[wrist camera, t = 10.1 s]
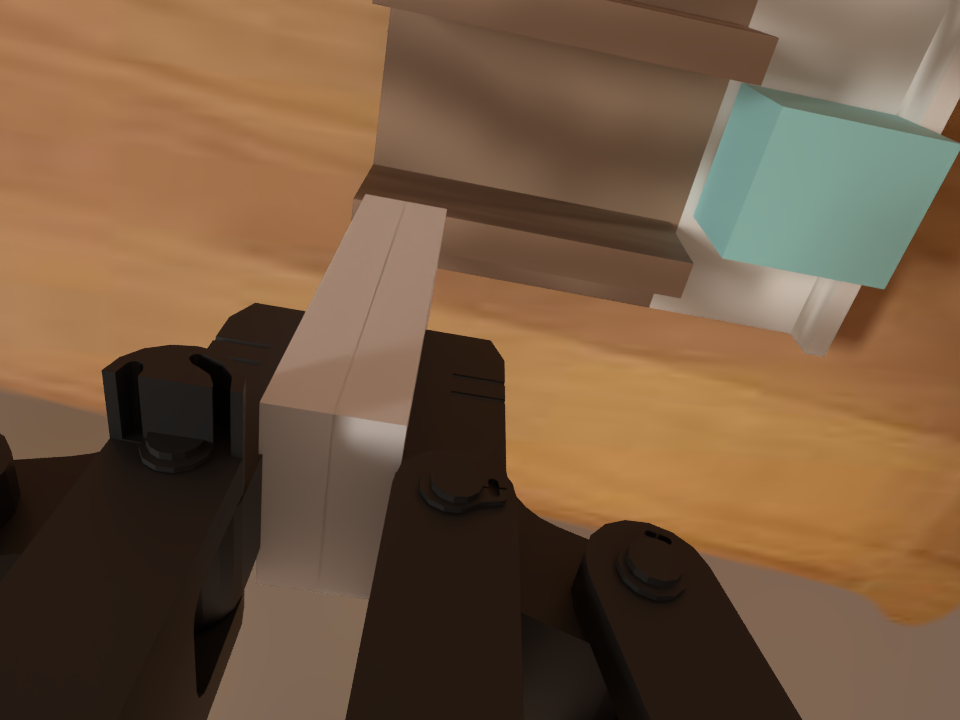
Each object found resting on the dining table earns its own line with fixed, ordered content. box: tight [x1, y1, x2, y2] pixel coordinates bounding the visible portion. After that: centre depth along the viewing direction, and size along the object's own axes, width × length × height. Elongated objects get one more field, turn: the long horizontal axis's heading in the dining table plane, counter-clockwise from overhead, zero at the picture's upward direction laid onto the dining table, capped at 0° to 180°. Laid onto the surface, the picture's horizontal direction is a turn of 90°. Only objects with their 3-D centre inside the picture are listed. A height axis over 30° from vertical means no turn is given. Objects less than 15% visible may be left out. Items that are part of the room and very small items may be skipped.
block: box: [693, 83, 960, 289], centre depth 29 cm, size 6×7×5 cm
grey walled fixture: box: [351, 0, 960, 357], centre depth 29 cm, size 16×23×6 cm
